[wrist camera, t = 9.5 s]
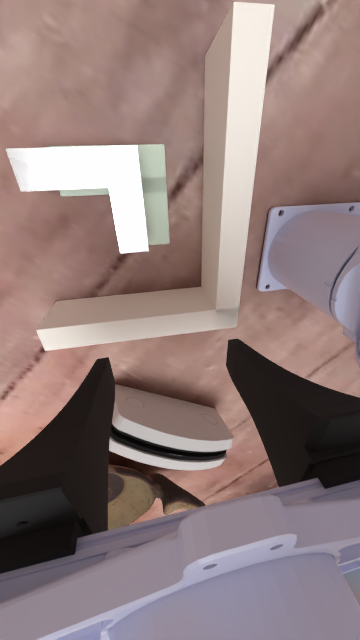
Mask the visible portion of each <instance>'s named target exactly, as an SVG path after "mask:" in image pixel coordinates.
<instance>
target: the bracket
mask: <svg viewBox="0 0 360 640" xmlns="http://www.w3.org/2000/svg"><path fill="white" fill-rule="evenodd" d="M6 151H7V154H8V157H9V160H10V162H11V165H12V168H13V171H14V174H15V176H16V179H17V182H18V185H19V188H20V190H21V192H22V191H44V190H65V189H87V188H109V193H110V198H111V204H112V210H113V215H114V221H115V227H116V232H117V238H118V244H119V249H120V253H132V252H144V251H149V249H148V240H147V231H146V222H145V213H144V204H143V195H142V186H141V177H140V168H139V159H138V150H137V145H136V146H95V147H54V148H12V149H6Z"/></svg>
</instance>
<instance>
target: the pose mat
mask: <svg viewBox="0 0 360 640" xmlns="http://www.w3.org/2000/svg"><path fill="white" fill-rule="evenodd" d="M95 146H136V145H90V146H48V148H54V147H95ZM137 150H138V159H139V168H140V177H141V186H142V195H143V204H144V213H145V222H146V231H147V240H148V245H159V244H170V239H169V221H168V203H167V185H166V167H165V150H164V144H150V145H137ZM60 194H61V196H83V195H106V194H110V193H109V188H87V189H65V190H60Z"/></svg>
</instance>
